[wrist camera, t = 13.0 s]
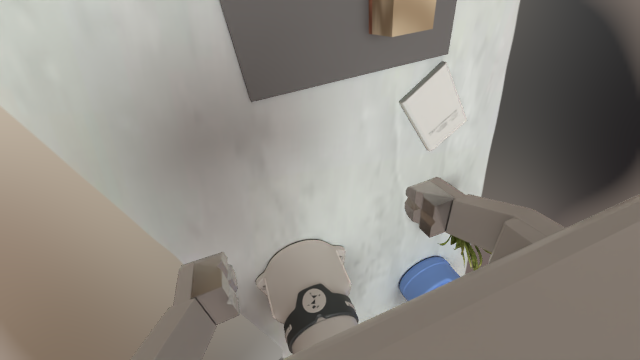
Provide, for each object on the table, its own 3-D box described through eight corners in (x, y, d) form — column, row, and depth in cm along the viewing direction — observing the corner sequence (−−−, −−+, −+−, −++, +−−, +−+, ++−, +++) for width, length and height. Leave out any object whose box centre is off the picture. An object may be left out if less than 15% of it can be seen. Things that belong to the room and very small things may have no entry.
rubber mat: (444, 53, 35) (447, 53, 34) (250, 100, 30) (251, 102, 29) (467, -89, 26) (471, -91, 26) (201, -59, 21) (201, -61, 21)
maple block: (392, 37, 25) (368, 33, 29) (432, 28, 26) (404, 26, 30) (394, -25, 22) (368, -20, 26) (440, -32, 23) (408, -26, 27)
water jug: (453, 257, 72) (556, 363, 50) (421, 291, 78) (501, 400, 56) (421, 252, 64) (526, 376, 42) (387, 291, 70) (465, 418, 48)
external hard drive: (439, 60, 36) (461, 116, 43) (396, 100, 37) (424, 148, 45) (447, 62, 35) (468, 120, 42) (402, 103, 36) (430, 152, 43)
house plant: (450, 216, 59) (514, 272, 46) (401, 233, 56) (455, 298, 43) (467, 166, 51) (551, 218, 38) (410, 183, 48) (481, 245, 35)
